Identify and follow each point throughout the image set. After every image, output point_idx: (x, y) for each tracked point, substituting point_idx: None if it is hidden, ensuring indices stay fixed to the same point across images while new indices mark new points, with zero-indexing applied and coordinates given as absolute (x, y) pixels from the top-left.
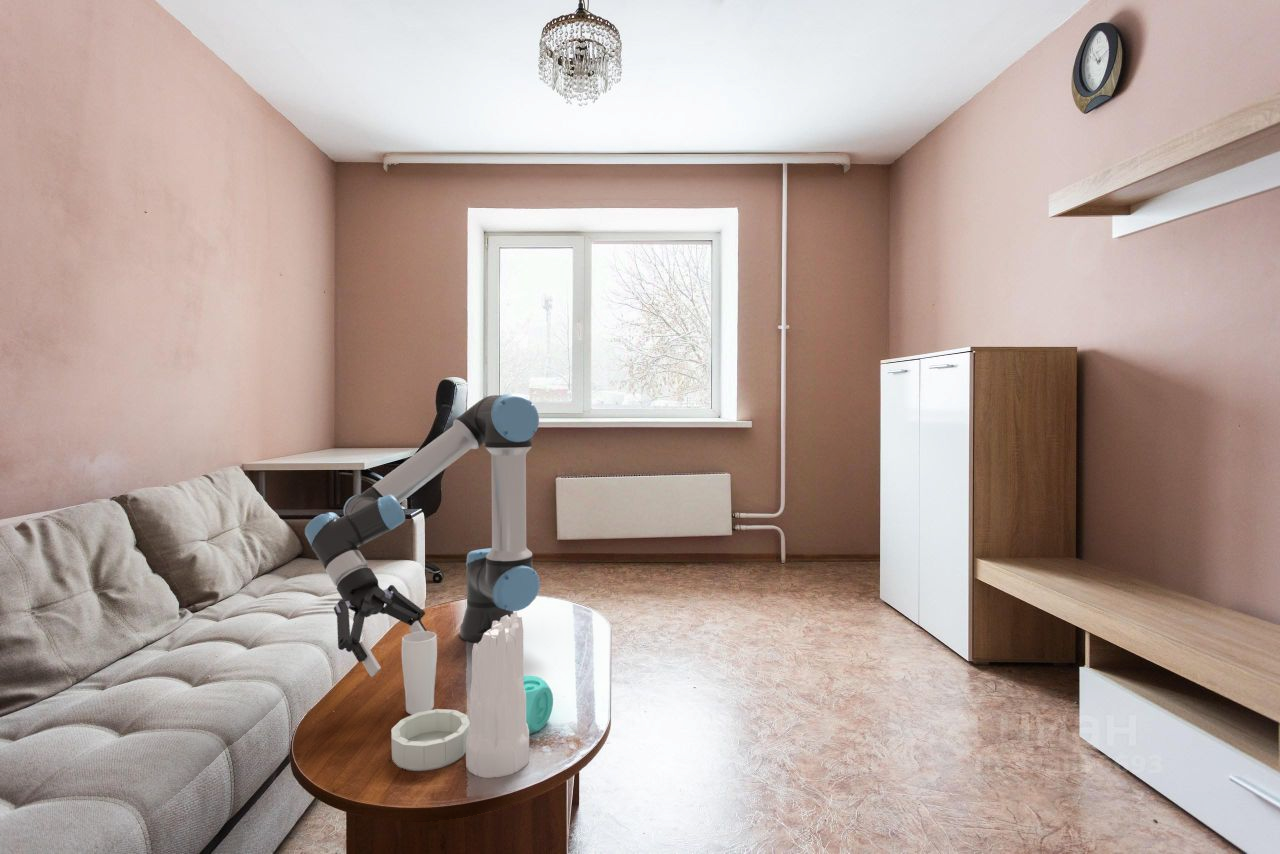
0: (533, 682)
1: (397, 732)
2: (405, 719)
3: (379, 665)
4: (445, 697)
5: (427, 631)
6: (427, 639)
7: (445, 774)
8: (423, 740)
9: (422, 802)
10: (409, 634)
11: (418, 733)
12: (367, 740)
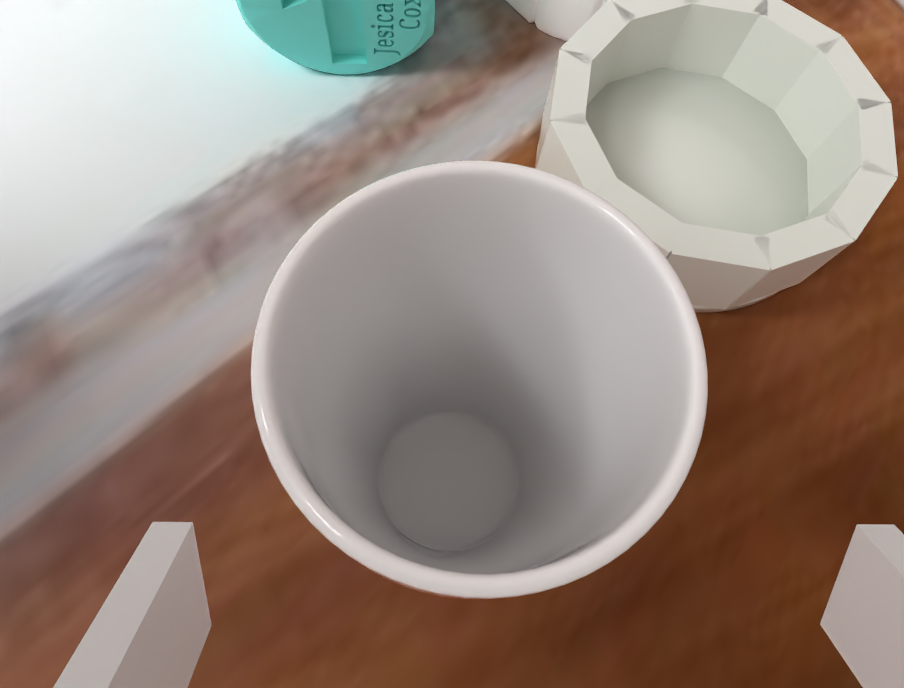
0: None
1: (853, 194)
2: (755, 252)
3: (875, 547)
4: (263, 473)
5: (269, 404)
6: (294, 428)
7: None
8: (678, 218)
9: (884, 14)
10: (467, 576)
11: None
12: (792, 474)
